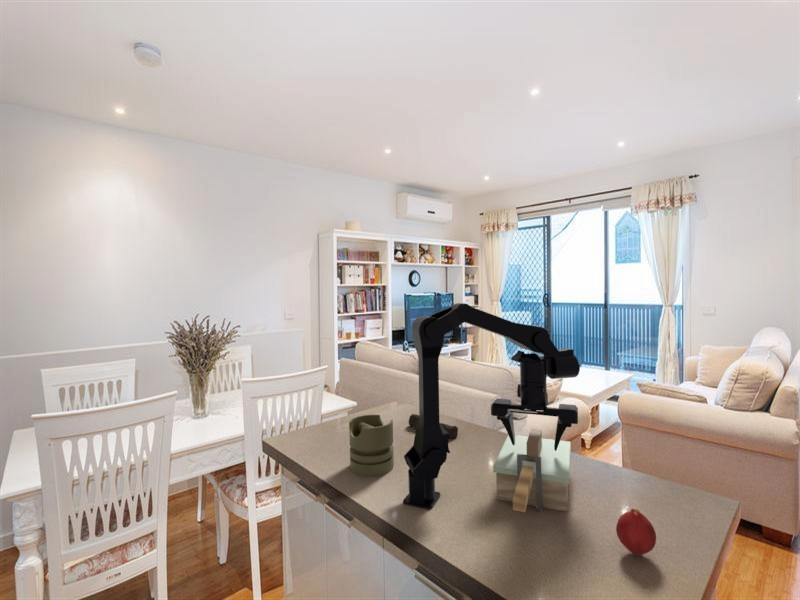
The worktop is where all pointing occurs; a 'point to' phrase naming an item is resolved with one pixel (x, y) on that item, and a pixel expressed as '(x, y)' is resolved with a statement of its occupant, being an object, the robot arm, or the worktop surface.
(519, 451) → the lid
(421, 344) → the robot arm
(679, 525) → the worktop surface
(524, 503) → the tan rectangular bar
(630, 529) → the onion
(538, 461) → the bracket
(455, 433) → the hand tool
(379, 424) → the piston
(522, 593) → the worktop surface
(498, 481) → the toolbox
